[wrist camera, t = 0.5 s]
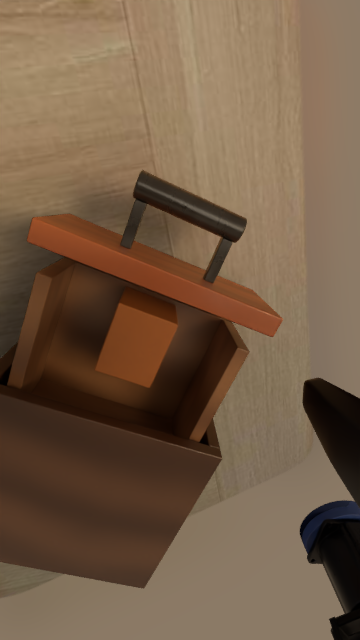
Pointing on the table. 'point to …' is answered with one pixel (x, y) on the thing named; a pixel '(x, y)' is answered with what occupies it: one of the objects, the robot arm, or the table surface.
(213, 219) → the drawer
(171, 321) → the orange cube block
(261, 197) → the table surface
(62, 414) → the cabinet
